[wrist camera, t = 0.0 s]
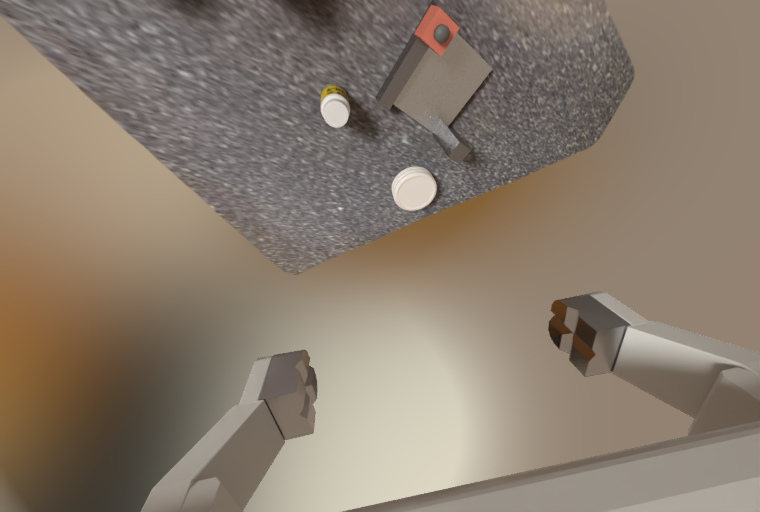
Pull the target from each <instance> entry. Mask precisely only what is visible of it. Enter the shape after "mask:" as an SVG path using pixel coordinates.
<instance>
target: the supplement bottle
mask: <svg viewBox="0 0 760 512" xmlns="http://www.w3.org/2000/svg"><path fill="white" fill-rule="evenodd" d="M321 113H322V115H323V117H324V119H325V121H326V122H327V124H329V125H330V126H332V127H336V128H338V127H342V126H343V125H345V124H346V122H347V121H348V118H349V114H350V105H349V101H348V96H347V93H346V91H345V90H344V89H343V88H342V87H341V86H339V85H337V84H330V85H327V86H326V87H325V88H324V89H323V90H322V93H321Z"/></svg>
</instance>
